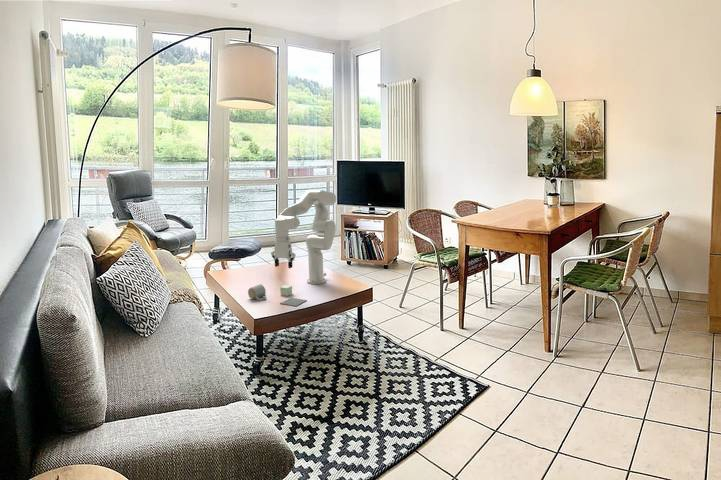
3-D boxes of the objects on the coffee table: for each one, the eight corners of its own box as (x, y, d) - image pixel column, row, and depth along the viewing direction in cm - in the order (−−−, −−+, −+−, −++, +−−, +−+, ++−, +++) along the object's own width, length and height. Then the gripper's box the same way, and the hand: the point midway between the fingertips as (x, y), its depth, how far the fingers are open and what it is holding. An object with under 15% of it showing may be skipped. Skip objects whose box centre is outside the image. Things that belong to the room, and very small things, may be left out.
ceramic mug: (247, 298, 281) (246, 286, 280) (258, 295, 287) (258, 282, 286) (258, 302, 275) (257, 289, 273) (269, 298, 281) (269, 286, 279)
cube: (285, 292, 291) (285, 285, 290) (292, 293, 289) (291, 286, 288) (280, 295, 287) (280, 287, 286) (287, 296, 285) (287, 288, 284)
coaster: (291, 298, 280) (291, 297, 280) (306, 300, 275) (306, 300, 275) (280, 303, 270) (280, 303, 270) (296, 306, 265) (296, 305, 265)
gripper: (298, 238, 279) (299, 267, 282) (274, 236, 287) (275, 264, 290) (290, 241, 273) (292, 270, 276) (266, 239, 280) (268, 267, 284)
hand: (283, 267), depth 283 cm, fingers open, 9 cm apart
